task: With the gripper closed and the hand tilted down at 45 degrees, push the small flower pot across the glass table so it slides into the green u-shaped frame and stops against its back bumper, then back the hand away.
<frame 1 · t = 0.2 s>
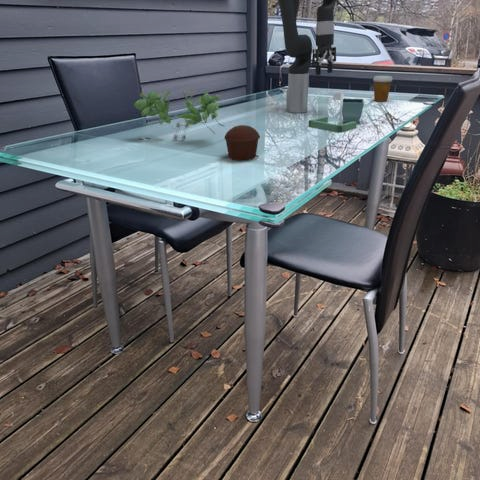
hand: (324, 73, 201), 18 cm above the table, tool pointing down, fingers open, 8 cm apart
muffin: (242, 157, 152), on the table
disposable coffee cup: (380, 101, 237), on the table
green u-shaped frame: (333, 126, 187), on the table
plant cuttings: (186, 138, 177), on the table
flower pot: (351, 122, 194), on the table
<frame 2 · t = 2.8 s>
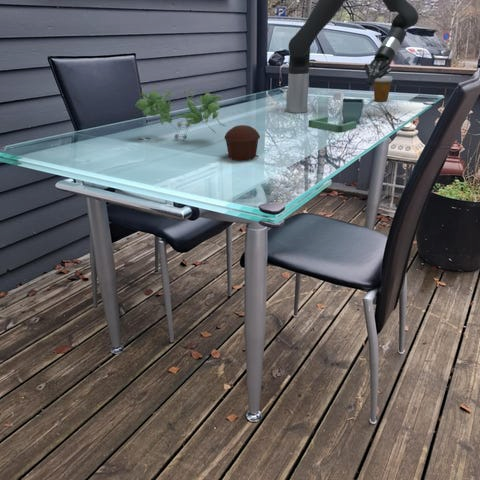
hand: (368, 84, 193), 14 cm above the table, tool tilted 45°, fingers closed
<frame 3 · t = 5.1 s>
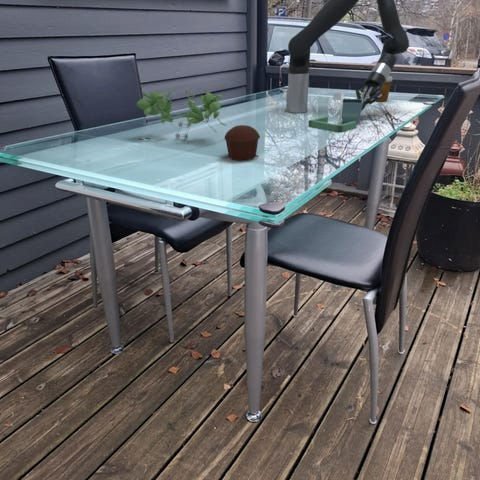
hand: (359, 110, 195), 4 cm above the table, tool tilted 45°, fingers closed
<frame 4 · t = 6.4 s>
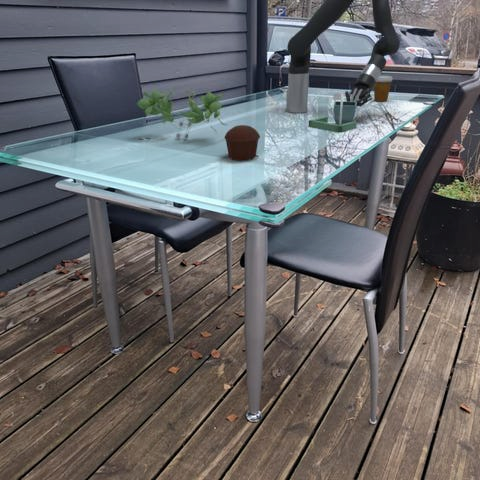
hand: (348, 112, 190), 4 cm above the table, tool tilted 45°, fingers closed
flower pot: (343, 126, 189), on the table, touching gripper
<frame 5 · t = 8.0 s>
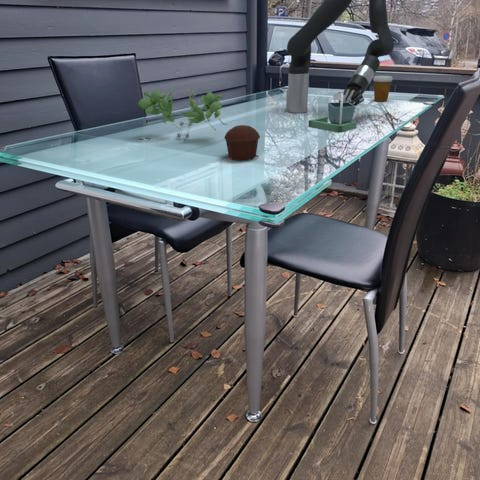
hand: (340, 113, 189), 4 cm above the table, tool tilted 45°, fingers closed
flower pot: (339, 127, 186), on the table, touching gripper, green u-shaped frame
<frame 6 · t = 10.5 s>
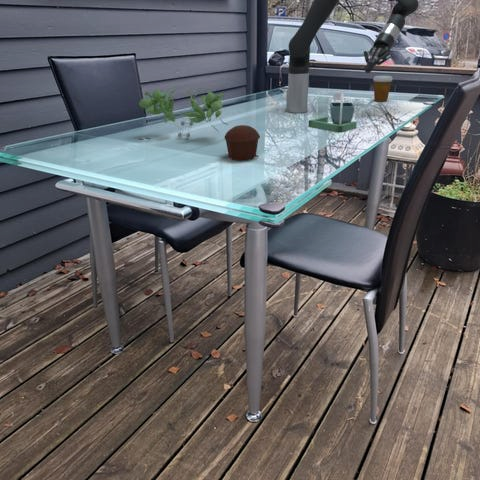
hand: (366, 71, 192), 19 cm above the table, tool tilted 45°, fingers closed
flower pot: (340, 127, 187), on the table
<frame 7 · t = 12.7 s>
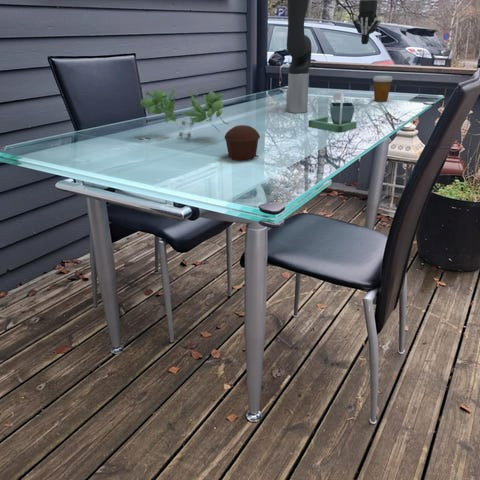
hand: (364, 44, 201), 29 cm above the table, tool pointing down, fingers closed
at the end: flower pot inside the target area on the green u-shaped frame (3.4 cm from its centre), point 0.0 cm above the green u-shaped frame's base; flower pot tilted 0° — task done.
